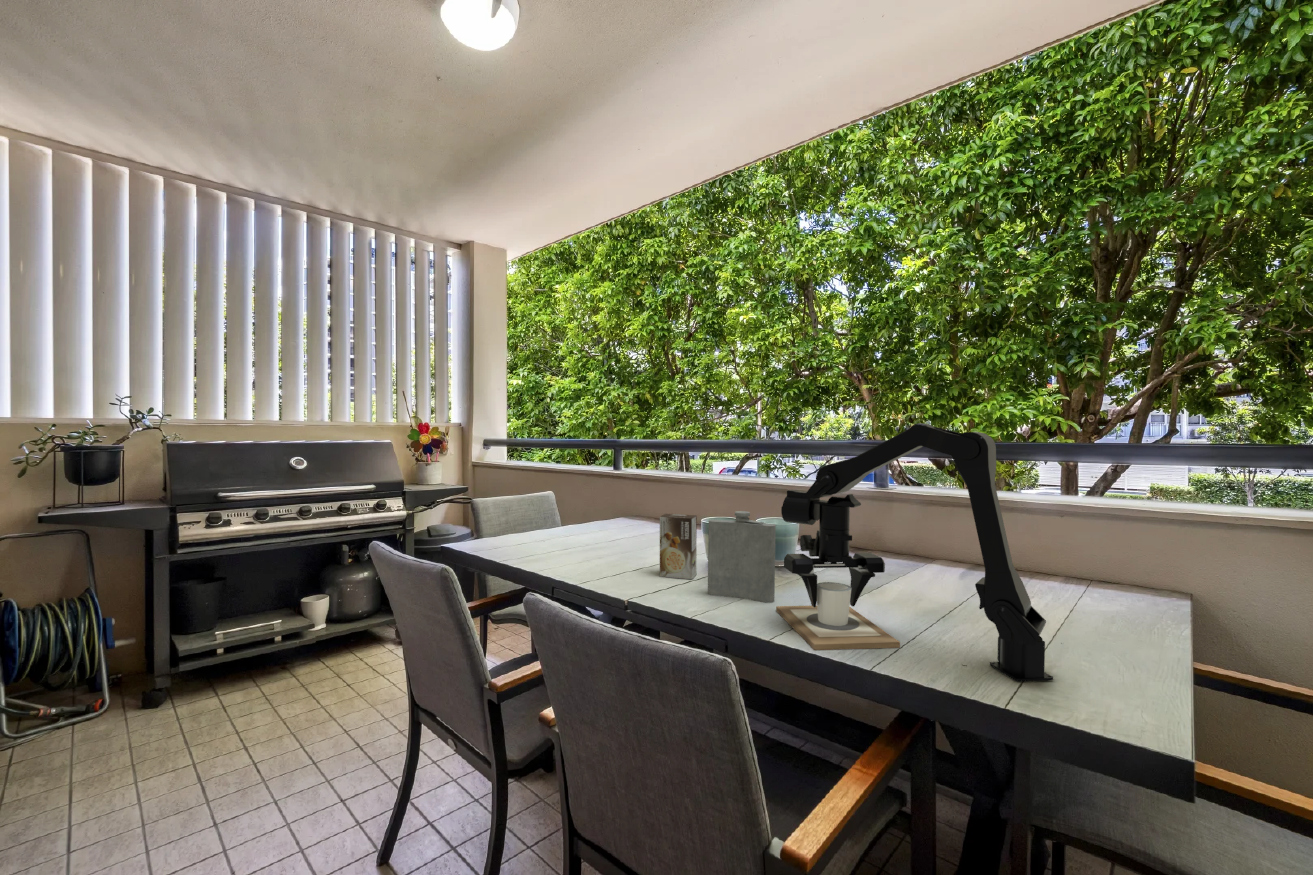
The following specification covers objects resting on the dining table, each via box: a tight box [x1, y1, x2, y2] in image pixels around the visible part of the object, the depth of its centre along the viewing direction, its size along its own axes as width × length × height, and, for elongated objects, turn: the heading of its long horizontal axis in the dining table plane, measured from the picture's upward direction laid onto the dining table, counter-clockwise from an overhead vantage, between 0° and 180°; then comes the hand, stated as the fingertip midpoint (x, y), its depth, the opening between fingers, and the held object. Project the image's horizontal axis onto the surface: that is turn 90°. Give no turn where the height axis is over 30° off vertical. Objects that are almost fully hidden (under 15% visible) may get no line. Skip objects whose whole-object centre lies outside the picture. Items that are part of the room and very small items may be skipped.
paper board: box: [775, 604, 901, 651], centre depth 114 cm, size 22×16×1 cm
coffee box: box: [659, 513, 698, 580], centre depth 153 cm, size 9×6×16 cm
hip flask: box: [707, 510, 777, 604], centre depth 134 cm, size 16×4×20 cm, turn 66°
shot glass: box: [816, 581, 852, 626], centre depth 113 cm, size 7×7×7 cm
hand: (833, 606), depth 113 cm, fingers open, 8 cm apart
